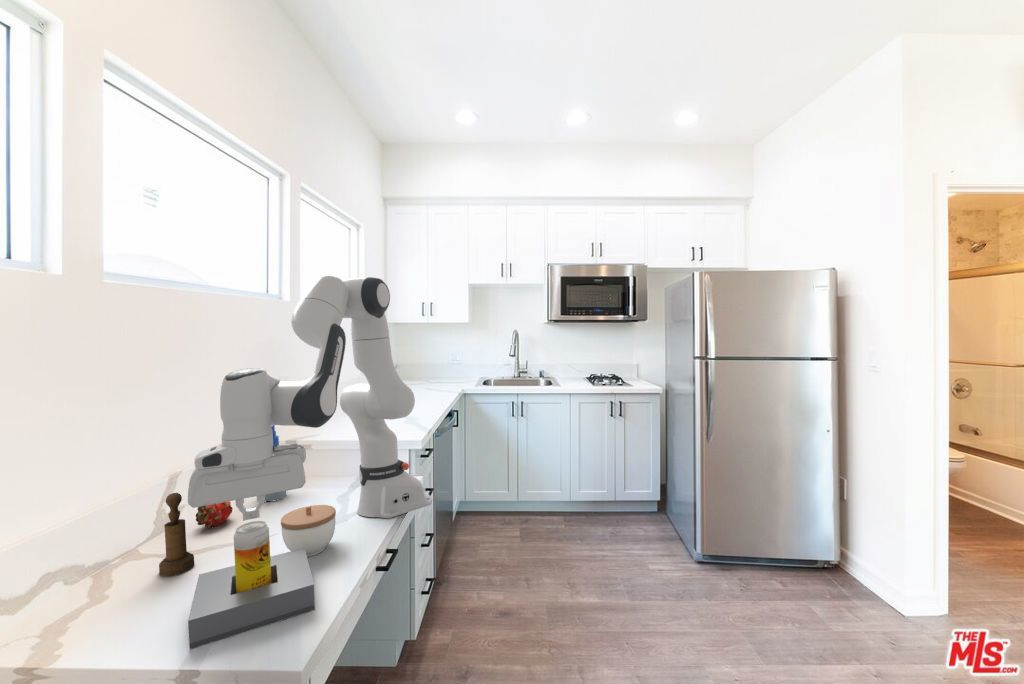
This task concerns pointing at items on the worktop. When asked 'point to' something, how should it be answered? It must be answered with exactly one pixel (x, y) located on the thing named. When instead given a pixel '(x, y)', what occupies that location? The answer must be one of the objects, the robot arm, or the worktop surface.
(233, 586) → the can dock
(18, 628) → the worktop surface
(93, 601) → the worktop surface
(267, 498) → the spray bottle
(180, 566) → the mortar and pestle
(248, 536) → the beer can
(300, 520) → the lidded bowl
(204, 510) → the dragon fruit
